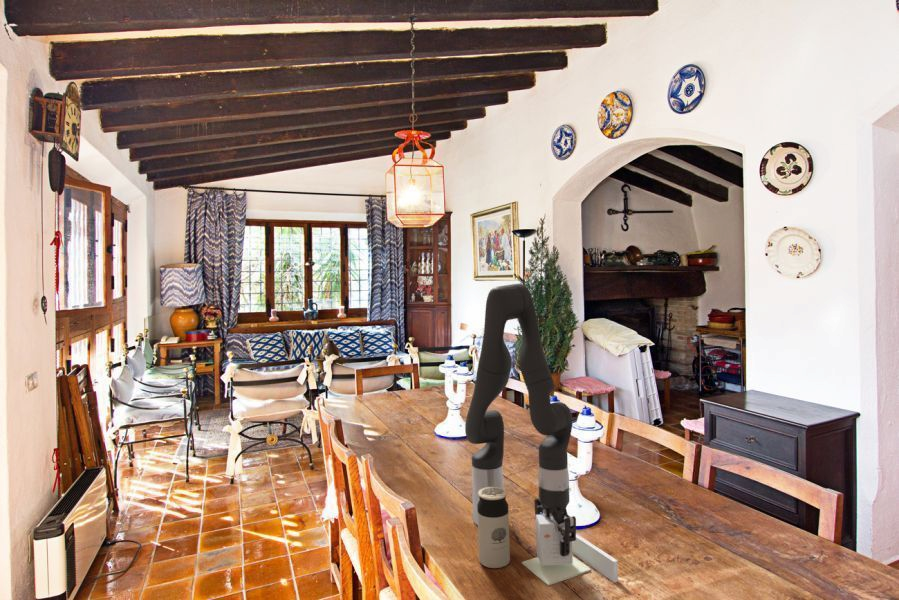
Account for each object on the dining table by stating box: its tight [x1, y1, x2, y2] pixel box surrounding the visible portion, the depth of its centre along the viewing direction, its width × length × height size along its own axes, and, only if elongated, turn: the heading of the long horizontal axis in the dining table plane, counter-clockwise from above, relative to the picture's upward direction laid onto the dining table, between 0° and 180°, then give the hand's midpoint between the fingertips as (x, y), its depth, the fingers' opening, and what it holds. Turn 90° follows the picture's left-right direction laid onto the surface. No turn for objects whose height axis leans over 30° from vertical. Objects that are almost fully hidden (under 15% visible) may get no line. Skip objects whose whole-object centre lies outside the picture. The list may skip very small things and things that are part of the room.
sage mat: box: [521, 555, 592, 586], centre depth 130 cm, size 11×13×1 cm
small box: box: [534, 513, 573, 566], centre depth 130 cm, size 8×6×10 cm
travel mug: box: [477, 487, 511, 569], centre depth 133 cm, size 8×8×18 cm
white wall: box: [572, 533, 619, 583], centre depth 132 cm, size 20×1×5 cm, turn 26°
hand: (555, 548), depth 130 cm, fingers closed on small box, 7 cm apart
